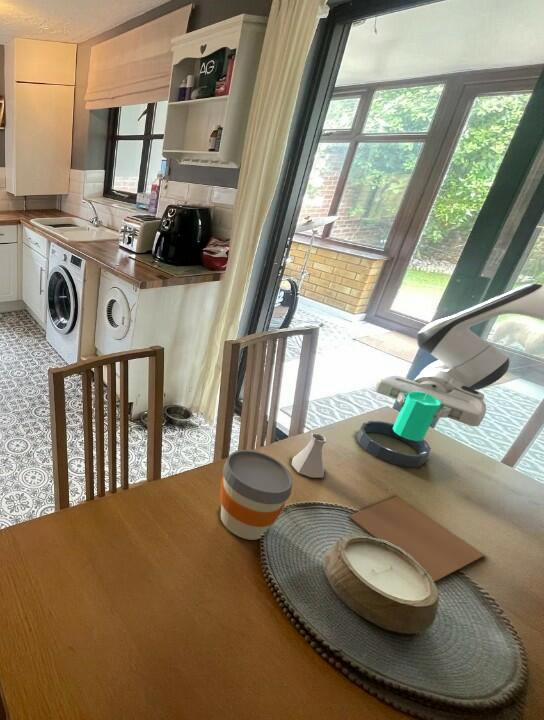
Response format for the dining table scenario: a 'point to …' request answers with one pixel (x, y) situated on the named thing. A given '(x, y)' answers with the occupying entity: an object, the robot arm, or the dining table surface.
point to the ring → (387, 453)
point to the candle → (416, 416)
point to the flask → (311, 458)
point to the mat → (417, 537)
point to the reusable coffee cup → (253, 492)
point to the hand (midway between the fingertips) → (419, 409)
